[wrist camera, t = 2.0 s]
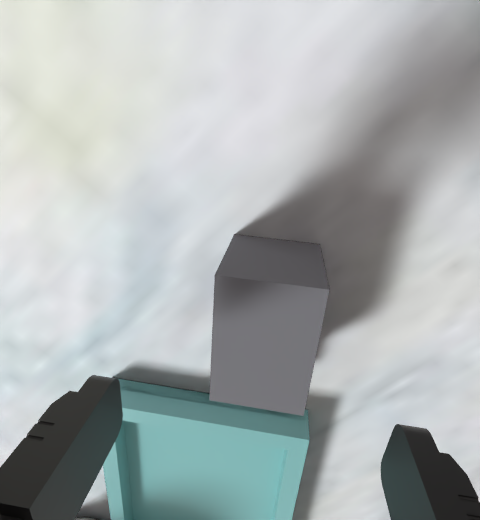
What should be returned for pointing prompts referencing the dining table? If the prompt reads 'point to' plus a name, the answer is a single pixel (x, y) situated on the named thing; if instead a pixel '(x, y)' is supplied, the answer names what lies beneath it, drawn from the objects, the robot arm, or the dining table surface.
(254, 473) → the tray
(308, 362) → the plug
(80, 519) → the soda can
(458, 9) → the dining table surface
